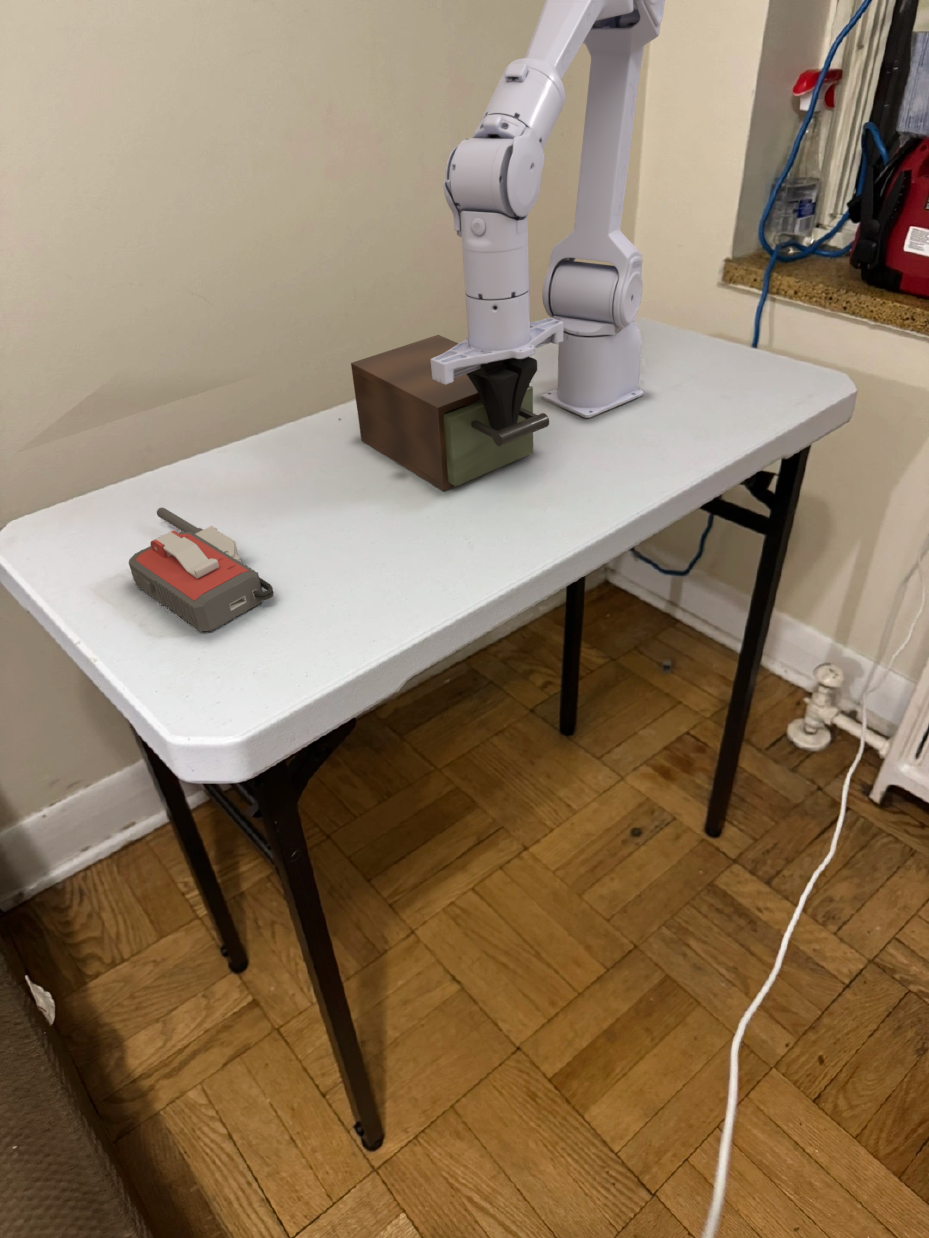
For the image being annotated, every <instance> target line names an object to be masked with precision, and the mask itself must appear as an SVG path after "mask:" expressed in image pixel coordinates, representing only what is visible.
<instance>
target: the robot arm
mask: <svg viewBox="0 0 929 1238" xmlns="http://www.w3.org/2000/svg"><path fill="white" fill-rule="evenodd" d="M665 3H666V0H545V1H544V3H543V6H542V9H541V12H540V15H539V17H538V20H537V22H536V25H535V27H534V31H533V34H532V36H531V39H530V42H529V45H528V47H527V50H526V53H525V56H524V58H523V57H522V58H518V59H515V60H513V61H512V62H510V63H508V64H507V66H506V67H505V68H504V70H503V72H502V73H501V74H502V75H501V77H500V79H499V81H498V83H497V85H496V87H495V90H494V92H493V93H492V96H491V98H490V100H489V102H488V104H487V106H486V108H485V110H484V113H482V116H481V119H480V120H479V122H478V125H477V127H476V129H475V131H474V133H473V135H472V137H466V138H465V139H463V140H461V142H460V143H458V144H457V145H455V146H454V147H453V149H452V150H451V152H450V154H449V156H448V158H447V162H446V165H445V175H444V181H443V182H442V184H443V185H442V187H443V194H444V197H445V200H446V203H447V206H448V208H449V209H450V211H451V213H452V216H453V224H454V225H453V226H454V231H455V232H456V236H458V237H460V238H461V249H462V263H463V266H462V267H463V280H464V293H465V311H466V325H467V326H466V328H467V338H465V339H464V340H462V341H460V342H458V343H459V344H457V345H456V346H454V347H453V348H451V349H450V350H448V351H446V352H445V353H443V354H441V355H439V356H437V357H434V358H431V370H432V379H433V380H435V381H437V382H440V383H442V384H445V385H446V384H449V383H452V382H453V381H454V378H456V377H458V376H461V375H464V374H467V376H468V377H469V379H470V380H471V382H472V383H473V385H474V386H475V388H476V390H477V392H478V394H479V396H480V398H481V400H482V402H483V405H484V407H485V410H486V413H487V416H488V419H489V423H490V426H491V428H493V429H495V430H497V431H499V430H501V429H504V428H506V427H509V426H511V425H514V424H516V423H517V420H518V416H519V412H520V408H521V405H522V401H523V398H524V396H525V393H526V391H527V388H528V386H529V384H530V385H531V382H532V380H533V378H534V377H535V375H536V373H537V372H538V360H537V359H536V358H533V357H532V356H534V355H535V354H536V349H538V348H539V347H543V346H545V345H548V344H554V345H557V348H558V351H557V353H558V354H557V388H554V389H552V390H550V391H547V392H545V393H543V394H541V399H543V400H545V401H547V402H548V403H551V404H554V405H556V406H558V407H560V408H562V409H565V410H566V411H569V412H571V413H574V414H575V415H577V416H581V417H583V418H585V419H591V418H592V417H595V416H597V415H599V414H602V413H604V412H606V411H608V410H612V409H614V408H616V407H618V406H621V405H624V404H626V403H628V402H630V401H633V400H635V399H638V398H640V397H642V396H644V390H642V389H641V388H639V387H640V386H639V385H640V374H641V373H640V372H641V361H642V346H643V341H642V335H641V331H640V329H639V326H638V324H637V323H636V322H635V318H636V317H637V316H638V315H637V314H638V313H639V310H640V307H641V303H642V298H643V285H644V284H643V277H642V276H643V275H642V273H643V254H642V253H641V251H640V250H639V249H638V248H637V247H636V246H635V245H634V244H633V243H632V241H630V239H629V238H628V237H626V235H625V234H624V233H623V232H622V230H621V228H622V222H623V221H622V220H623V213H624V204H625V197H626V187H627V179H628V171H629V164H630V155H631V147H632V141H633V131H634V123H635V115H636V108H637V99H638V91H639V84H640V77H641V68H642V62H643V56H644V50H645V46H647V44H649V43H651V42H652V41H653V40H655V39H657V38H658V37H659V36H660V31H661V25H662V21H663V18H664V11H665ZM583 44H584V45H585V46H586V49H587V51H588V53H589V56H590V63H589V65H590V67H589V74H588V75H589V76H588V86H587V94H586V96H587V97H586V103H585V114H584V115H585V116H584V125H583V126H584V127H583V133H582V134H583V135H582V147H581V155H580V165H579V173H578V175H579V176H578V183H577V184H578V186H577V193H576V195H577V196H576V203H575V204H576V205H575V214H574V223H573V230H572V232H571V233H569V234H568V235H566V236H565V237H564V238H562V239H561V240H560V241H558V242H557V243H556V244H555V245H554V246H553V247H552V248H551V250H550V255H549V262H548V266H547V271H546V273H545V276H544V278H543V279H544V280H543V283H542V292H541V293H542V295H541V296H542V298H541V299H542V304H543V308H544V310H545V312H546V314H547V316H548V317H547V318H544V319H539V320H535V321H531V306H530V301H531V300H530V266H529V265H530V262H529V261H530V260H529V217H528V216H529V214H530V213H531V212H532V210H533V208H534V207H535V204H536V203H537V202H538V199H539V195H540V192H541V191H540V190H541V184H542V183H541V182H542V172H543V169H544V166H545V160H546V156H545V153H544V149H545V147H546V145H547V143H548V141H549V138H550V137H551V134H552V132H553V130H554V128H555V126H556V124H557V121H558V119H559V117H560V114H561V112H562V110H563V108H564V105H565V103H566V90H565V86H564V83H563V81H562V80H563V78H564V76H565V75H566V73H567V71H568V69H569V68H570V66H571V64H572V63H573V61H574V59H575V57H576V56H577V54H578V52H579V50H580V48H581V47H582V45H583ZM576 259H577V260H586V262H584V261H576ZM587 261H593V262H587ZM594 261H595V262H605V263H609V264H603V263H594Z"/></svg>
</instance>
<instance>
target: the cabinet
mask: <svg viewBox="0 0 929 1238" xmlns="http://www.w3.org/2000/svg"><path fill="white" fill-rule="evenodd" d="M459 343H460V342H457V341H454V340H452V339H450V338H447V337H445V336H443V335H439V334H435V335H434V336H430V337H426V338H423V339H421V340H418V341H414V342H412V343H408V344H406V345H402V346H399V347H396V348H393V349H390V350H386V351H383V352H381V353H378V354H373V355H370V356H368V357H365V358H362V359H359V360H356V361H352V362H350V368H351V374H352V375H351V376H352V381H353V389H354V396H355V404H356V410H357V412H356V413H357V418H358V426H359V433H360V441H361V442H363V443H364V444H366V445H367V446H369V447H370V448H371V449H374V450H375V451H377V452H379V453H381V454H382V455H384V456H385V457H387V458H388V459H390V460H392V461H393V462H395V463H397V464H398V465H400V466H401V467H403V468H405V469H406V470H408V471H409V472H411V473H413V474H415V475H416V476H418V477H419V478H421V479H422V480H424V481H425V482H427V483H429V484H431V485H432V486H434V487H435V488H437V489H439V490H440V491H442V492H446V491H449V490H452V489H454V488H456V487H458V486H460V485H463V484H466V483H467V482H469V481H472V480H474V479H477V478H480V477H482V476H484V475H486V474H488V473H491V472H494V471H496V470H497V469H499V468H503V467H505V466H507V465H509V464H511V463H515V462H516V461H518V460H521V459H524V458H526V457H528V456H530V455H531V454H529V455H527V456H524V457H522V458H520V459H517V460H515V461H513V462H510V463H508V464H506V465H503V466H501V467H499V468H496V469H494V470H492V471H489V472H487V473H485V474H482V475H480V476H478V477H475V478H473V479H471V480H468V481H466V482H464V483H461V484H459V485H457V486H454V485H452V484H451V483H449V482H448V473H447V459H446V445H445V430H444V416H443V415H445V413H446V412H449V411H451V410H454V409H457V408H459V407H462V406H464V405H467V404H470V403H472V402H475V401H478V400H480V399H481V398H480V396H479V394H478V392H477V390H476V388H475V386H474V385H473V383H472V382H471V380H470V379H469V377H468V376H467V374H464V375H461V376H458V377H456V378H454V381H453V382H452V383H449V384H446V385H445V384H442V383H440V382H437V381H435V380H433V379H432V370H431V358H434V357H437V356H439V355H441V354H443V353H445V352H446V351H448V350H450V349H451V348H453V347H454V346H456V345H457V344H459ZM529 386H531V383H530V384H529Z"/></svg>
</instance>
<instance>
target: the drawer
mask: <svg viewBox="0 0 929 1238" xmlns="http://www.w3.org/2000/svg"><path fill="white" fill-rule="evenodd" d="M443 416H444V430H445V445H446V459H447V473H448V482H449V483H451V484H452V485H454V486H456V487H458V486H460V485H459V484H461V483H463V484H465V483H467V482H466V481H468V480H470V481H472V480H474V479H473V478H475V477H477V478H479V477H481V476H480V475H482V474H484V475H486V474H488V473H487V472H489V471H491V472H493V471H495V470H494V469H496V468H498V469H499V467H500V468H502V467H501V466H503V465H505V466H507V465H509V464H508V463H510V462H512V463H514V462H516V461H515V460H517V459H519V460H521V459H523V458H522V457H524V456H526V457H528V456H530V455H532V454H534V433H536V432H538V431H540V430H543V429H545V428H547V427H549V425H550V417H549V416H548V414H546V413H545V412H541V413H539V414H536V413H534V387H533V386H531V385H530V386H528V388H527V391H526V393H525V396H524V398H523V401H522V405H521V408H520V412H519V416H518V420H517V423H516V424H514V425H511V426H509V427H506V428H504V429H501V430H499V431H497V430H495V429H493V428H491V426H490V423H489V419H488V416H487V413H486V410H485V407H484V405H483V402H482V401H479V402H476V403H474V404H471V405H468V406H466V405H464V406H462V407H459V408H457V409H454V410H451V411H449V412H446V413H445V415H443ZM529 454H530V455H529ZM527 455H528V456H527ZM520 458H521V459H520ZM524 458H525V457H524ZM513 461H514V462H513ZM517 461H518V460H517ZM506 464H507V465H506ZM510 464H511V463H510ZM503 467H504V466H503ZM492 470H493V471H492ZM496 470H497V469H496ZM485 473H486V474H485ZM489 473H490V472H489ZM478 476H479V477H478ZM482 476H483V475H482ZM471 479H472V480H471ZM475 479H476V478H475ZM464 482H465V483H464ZM468 482H469V481H468ZM457 485H458V486H457ZM461 485H462V484H461Z"/></svg>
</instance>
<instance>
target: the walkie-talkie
mask: <svg viewBox="0 0 929 1238" xmlns="http://www.w3.org/2000/svg"><path fill="white" fill-rule="evenodd" d="M156 515H157V517H158V518H160V519H161V520H163V521H165V522H166V523H168V524H170V525H171V526H173V527H175V528H176V529H178V530H180V531H178V532H177V531H176V530H171V531H169V532H168V533H165V534H163V535H161V536H159V537H157V538H155V539H153V540H151V541H150V545H149V546H148V547H146V548H143V549H140V551H138V552H136V553H134V554H133V555H132V556H131V557H130V558H129V559H128V565H129V569H130V572H131V575H132V578H133V581H134V583H135V586H137V587H138V588H140V589H141V590H142V591H143V592H145V593H146V594H148V595H149V596H150V597H151V598H153V599H155V600H156V601H157V602H159V603H160V604H162V605H164V607H167V609H169V610H170V611H171V612H174V614H175V615H177V616H179V617H181V619H183V620H184V621H185V622H188V624H189V625H192V627H194V628H195V629H196V630H199V632H211V631H214V630H216V629H218V628H219V627H221V626H223V625H224V624H227V623H228V622H230V621H231V620H234V619H235V618H237V617H238V616H240V615H242V614H244V613H245V612H248V611H249V610H251V609H252V608H254V607H256V606H258V605H259V604H261V603H262V602H263V601H266V600H269V599H271V598H272V597H274V593H275V592H274V587H273V586H272V585H271V583H269V582H268V581H266V580H264V579H263V578H261V577H260V575H259V572H257V571H256V570H254V569H252V568H251V567H249V566H248V565H245V564H244V562H242V559H241V557H240V556H239V555H240V554H239V551H238V546H237V543H236V541H235V540H234V539H232V538H231V537H229V536H227V535H226V534H225V533H223V532H221V531H219V530H218V529H217V527H216V526H215V527H214V526H213V525H210V526H208V527H206V528H204V529H203V528H202V527H197V526H196V525H194V524H192V523H191V522H189V521H187V520H185V519H183V518H182V517H180V516H178V515H177V514H175V513H173V512H172V511H171V510H169V509H167V508H165V507H159V508H157V510H156ZM263 589H264V590H265V591H263Z"/></svg>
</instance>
